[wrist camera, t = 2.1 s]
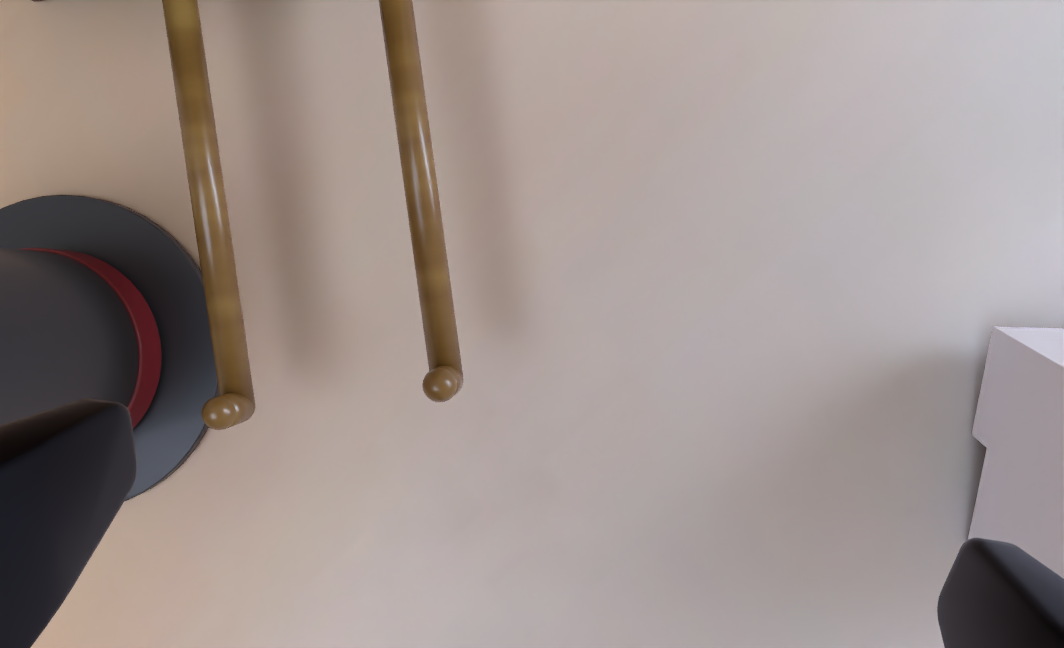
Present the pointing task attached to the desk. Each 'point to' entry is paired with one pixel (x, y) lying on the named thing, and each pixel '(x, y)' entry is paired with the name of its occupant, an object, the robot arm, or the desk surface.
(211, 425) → the hook rack
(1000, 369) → the bracket
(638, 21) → the desk surface
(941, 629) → the robot arm
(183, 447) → the top hat
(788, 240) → the desk surface
